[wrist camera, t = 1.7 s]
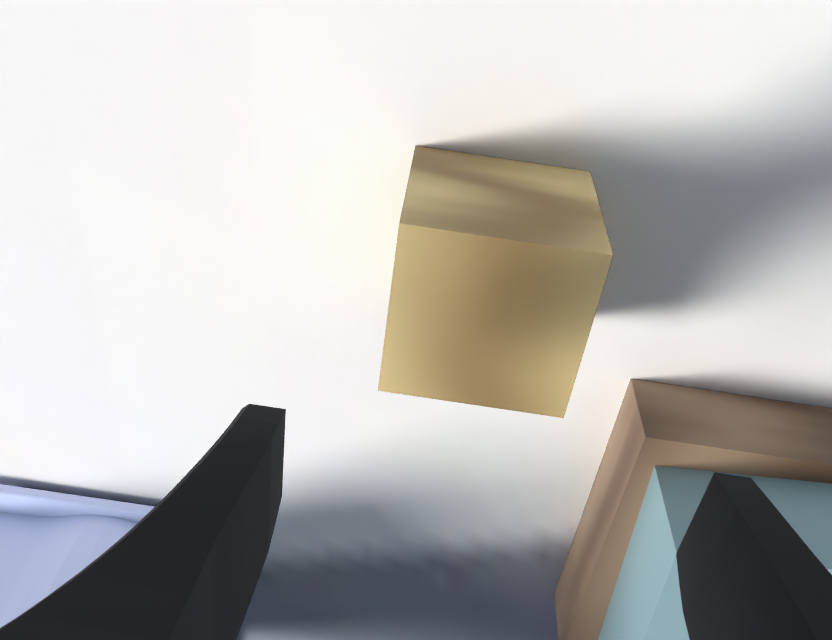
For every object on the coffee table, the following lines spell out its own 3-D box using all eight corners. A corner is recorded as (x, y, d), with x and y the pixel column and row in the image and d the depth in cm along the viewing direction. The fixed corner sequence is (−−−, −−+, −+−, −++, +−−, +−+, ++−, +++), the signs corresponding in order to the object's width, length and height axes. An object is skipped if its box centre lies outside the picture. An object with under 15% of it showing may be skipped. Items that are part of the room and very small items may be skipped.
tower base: (553, 582, 29) (559, 656, 26) (628, 368, 23) (645, 437, 21) (820, 620, 29) (851, 698, 27) (959, 417, 24) (1014, 491, 21)
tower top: (590, 660, 26) (601, 749, 24) (654, 465, 21) (677, 552, 19) (860, 689, 26) (900, 783, 24) (988, 499, 21) (1055, 592, 19)
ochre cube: (396, 292, 22) (378, 390, 18) (415, 144, 20) (399, 223, 16) (550, 315, 22) (563, 418, 18) (589, 170, 20) (612, 255, 16)
